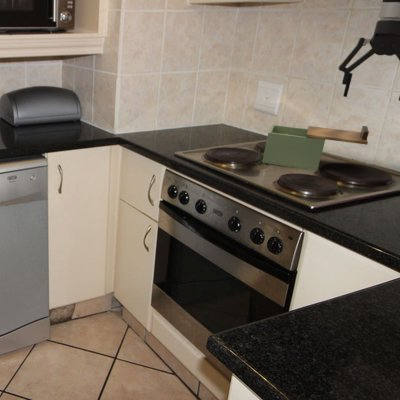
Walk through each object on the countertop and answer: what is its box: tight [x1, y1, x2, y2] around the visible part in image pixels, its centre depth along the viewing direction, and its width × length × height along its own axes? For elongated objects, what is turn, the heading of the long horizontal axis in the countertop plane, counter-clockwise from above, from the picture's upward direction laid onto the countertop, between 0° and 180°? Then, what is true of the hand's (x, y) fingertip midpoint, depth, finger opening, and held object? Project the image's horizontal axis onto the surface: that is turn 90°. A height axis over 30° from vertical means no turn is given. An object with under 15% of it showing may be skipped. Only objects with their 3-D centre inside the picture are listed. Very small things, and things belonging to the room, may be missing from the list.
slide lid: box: [306, 125, 370, 146], centre depth 145 cm, size 16×13×3 cm
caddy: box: [261, 124, 326, 171], centre depth 152 cm, size 16×13×10 cm
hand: (372, 98), depth 137 cm, fingers open, 13 cm apart
